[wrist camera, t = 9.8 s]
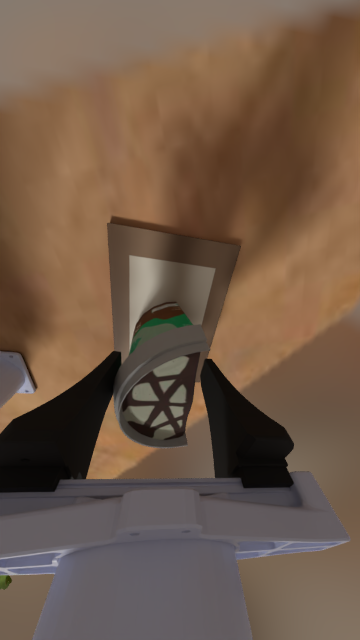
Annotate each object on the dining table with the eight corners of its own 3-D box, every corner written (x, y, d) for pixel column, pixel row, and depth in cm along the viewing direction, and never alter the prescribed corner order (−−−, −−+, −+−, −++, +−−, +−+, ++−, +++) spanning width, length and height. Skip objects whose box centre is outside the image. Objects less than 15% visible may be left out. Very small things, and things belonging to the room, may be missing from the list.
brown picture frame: (117, 373, 24) (116, 376, 23) (109, 223, 15) (107, 222, 14) (199, 379, 25) (199, 382, 25) (238, 245, 16) (241, 245, 16)
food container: (119, 287, 16) (93, 348, 7) (177, 289, 17) (212, 342, 9) (126, 373, 22) (117, 464, 13) (169, 369, 23) (186, 448, 15)
